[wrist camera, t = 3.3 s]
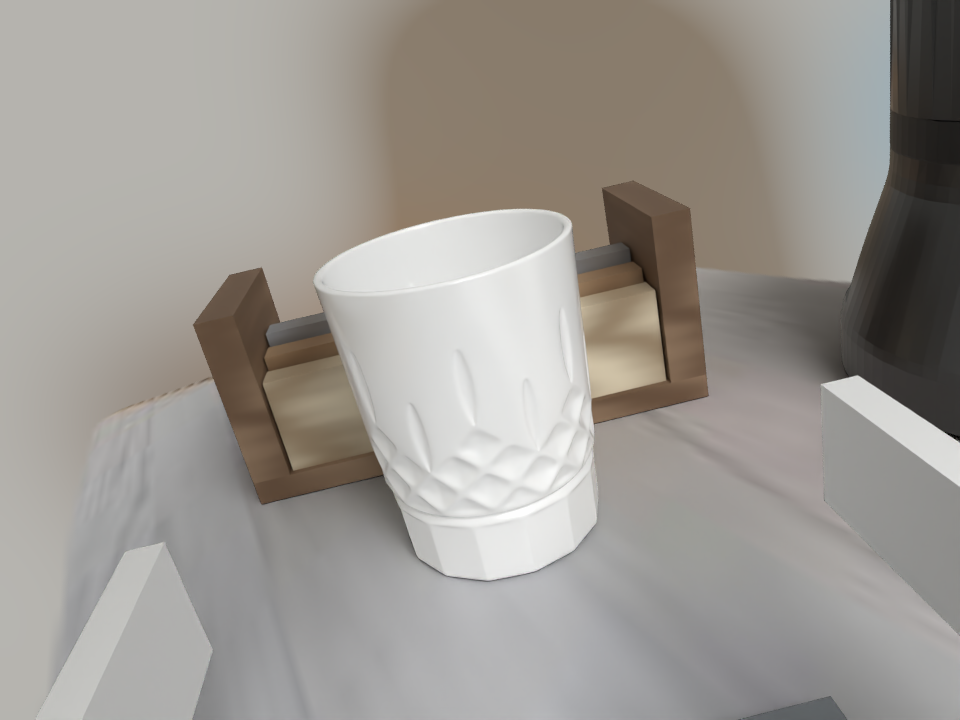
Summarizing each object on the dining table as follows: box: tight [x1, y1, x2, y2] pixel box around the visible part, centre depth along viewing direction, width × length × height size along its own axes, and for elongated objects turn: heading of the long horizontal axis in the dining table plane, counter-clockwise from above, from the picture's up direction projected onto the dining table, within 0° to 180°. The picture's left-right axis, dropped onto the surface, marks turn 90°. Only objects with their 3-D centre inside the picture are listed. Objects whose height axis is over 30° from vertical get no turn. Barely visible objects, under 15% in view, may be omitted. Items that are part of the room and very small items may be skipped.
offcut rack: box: [193, 181, 708, 504], centre depth 33 cm, size 19×7×8 cm, turn 97°
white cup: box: [313, 209, 598, 581], centre depth 25 cm, size 8×8×10 cm
